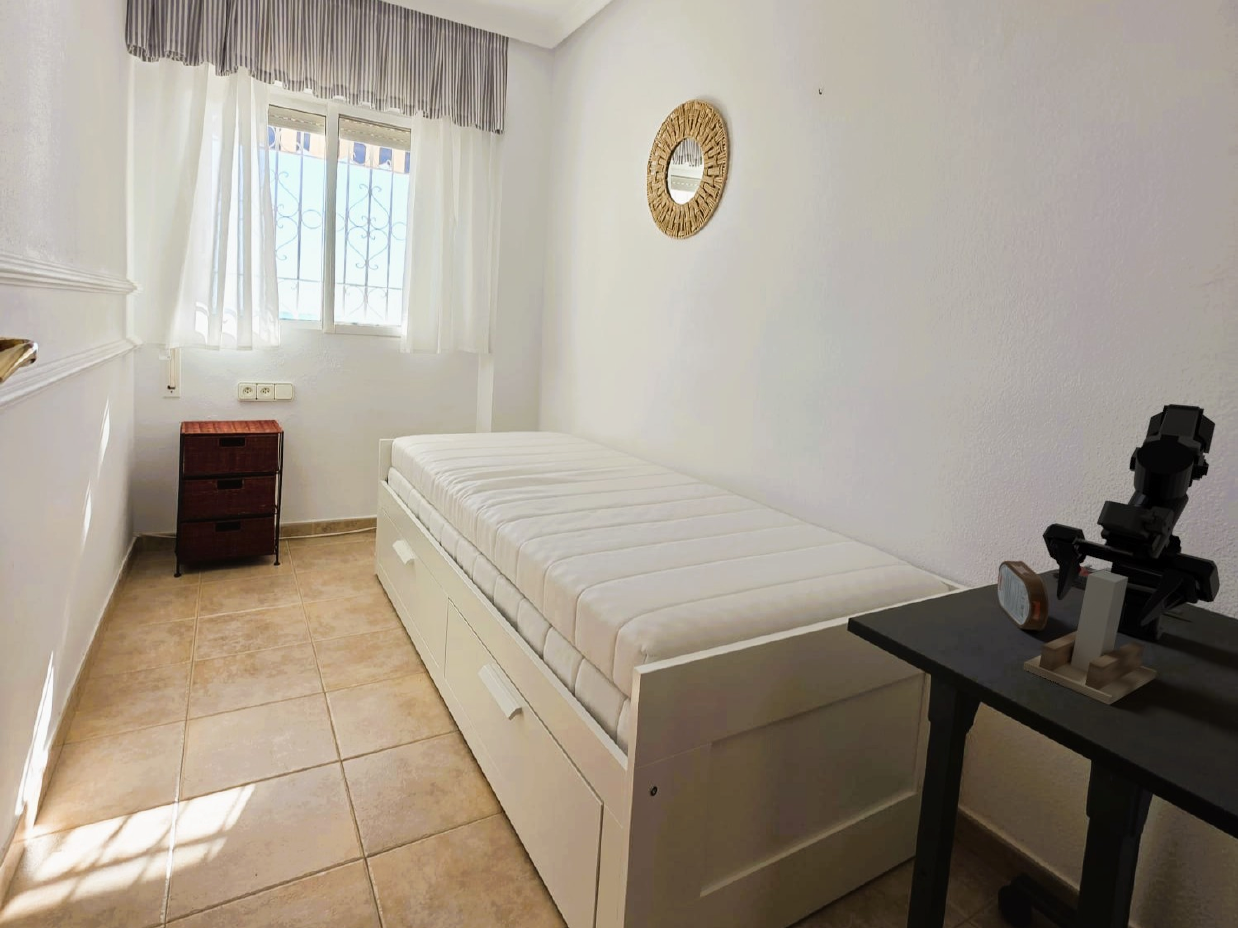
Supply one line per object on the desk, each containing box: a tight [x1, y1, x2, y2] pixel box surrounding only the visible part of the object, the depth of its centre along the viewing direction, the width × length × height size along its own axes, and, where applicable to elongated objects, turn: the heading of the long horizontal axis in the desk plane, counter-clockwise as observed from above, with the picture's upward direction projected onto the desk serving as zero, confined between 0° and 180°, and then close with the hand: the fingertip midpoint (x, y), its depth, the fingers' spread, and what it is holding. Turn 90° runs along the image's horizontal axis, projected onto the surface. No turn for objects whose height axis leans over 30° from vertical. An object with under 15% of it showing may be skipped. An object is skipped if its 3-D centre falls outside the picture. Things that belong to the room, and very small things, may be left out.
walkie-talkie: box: [1052, 563, 1184, 616], centre depth 122 cm, size 9×4×20 cm
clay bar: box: [1071, 570, 1128, 672], centre depth 90 cm, size 4×3×12 cm
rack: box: [1022, 630, 1157, 705], centre depth 90 cm, size 14×10×4 cm
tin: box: [996, 560, 1050, 632], centre depth 108 cm, size 15×3×8 cm, turn 168°
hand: (1097, 610), depth 88 cm, fingers open, 9 cm apart
